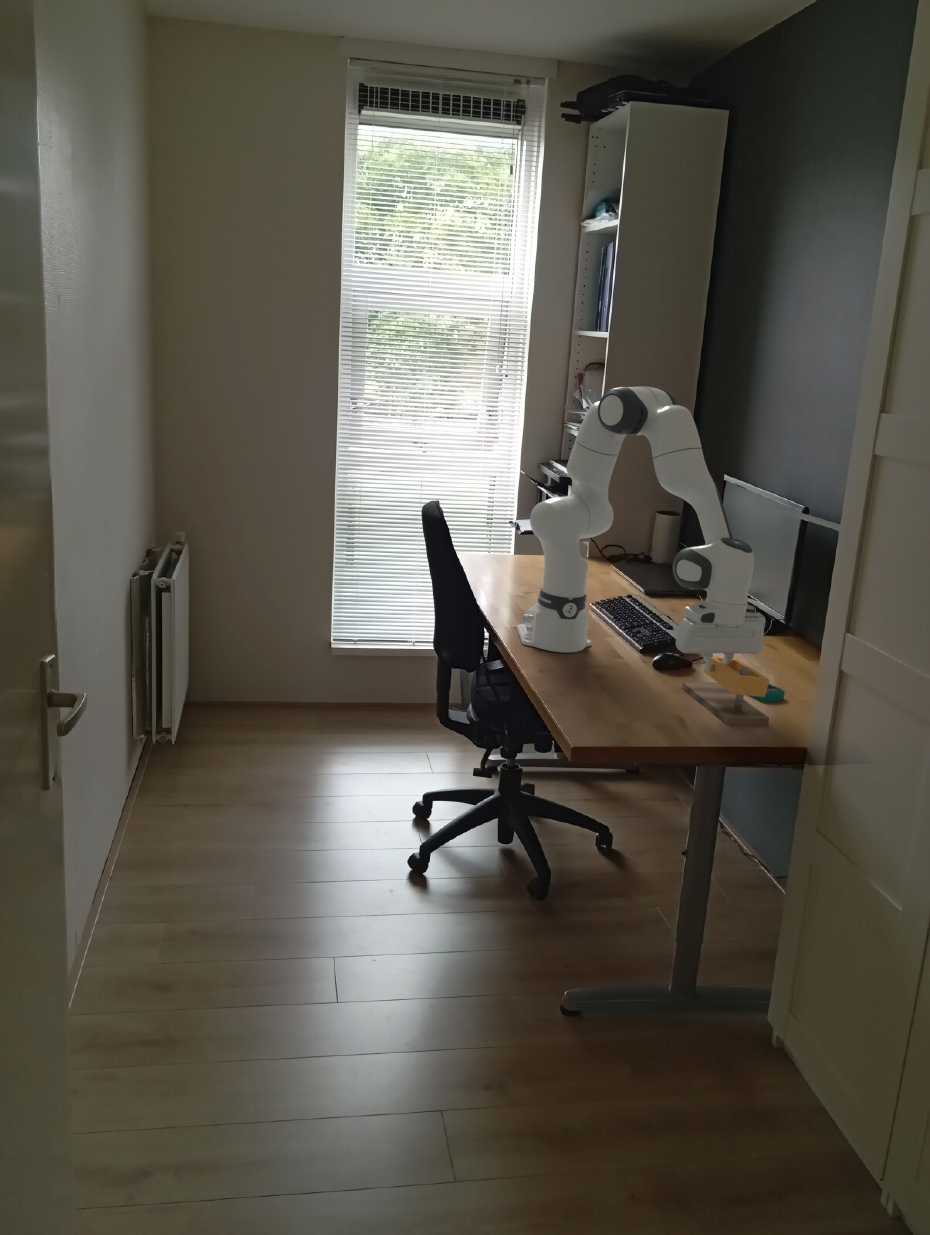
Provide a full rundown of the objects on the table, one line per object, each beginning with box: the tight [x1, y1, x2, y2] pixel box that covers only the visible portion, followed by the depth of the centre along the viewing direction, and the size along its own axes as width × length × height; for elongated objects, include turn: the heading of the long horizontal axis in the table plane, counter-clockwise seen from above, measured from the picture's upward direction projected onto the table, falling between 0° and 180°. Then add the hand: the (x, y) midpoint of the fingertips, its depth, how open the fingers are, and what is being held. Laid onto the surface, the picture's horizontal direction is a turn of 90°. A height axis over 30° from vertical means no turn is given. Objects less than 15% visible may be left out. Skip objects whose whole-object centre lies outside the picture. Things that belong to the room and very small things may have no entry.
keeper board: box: [681, 666, 770, 726], centre depth 230 cm, size 22×10×12 cm, turn 15°
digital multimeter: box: [750, 683, 786, 703], centre depth 244 cm, size 7×15×3 cm, turn 31°
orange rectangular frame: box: [703, 655, 770, 697], centre depth 227 cm, size 14×8×4 cm, turn 15°
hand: (715, 670), depth 229 cm, fingers closed on orange rectangular frame, 2 cm apart
